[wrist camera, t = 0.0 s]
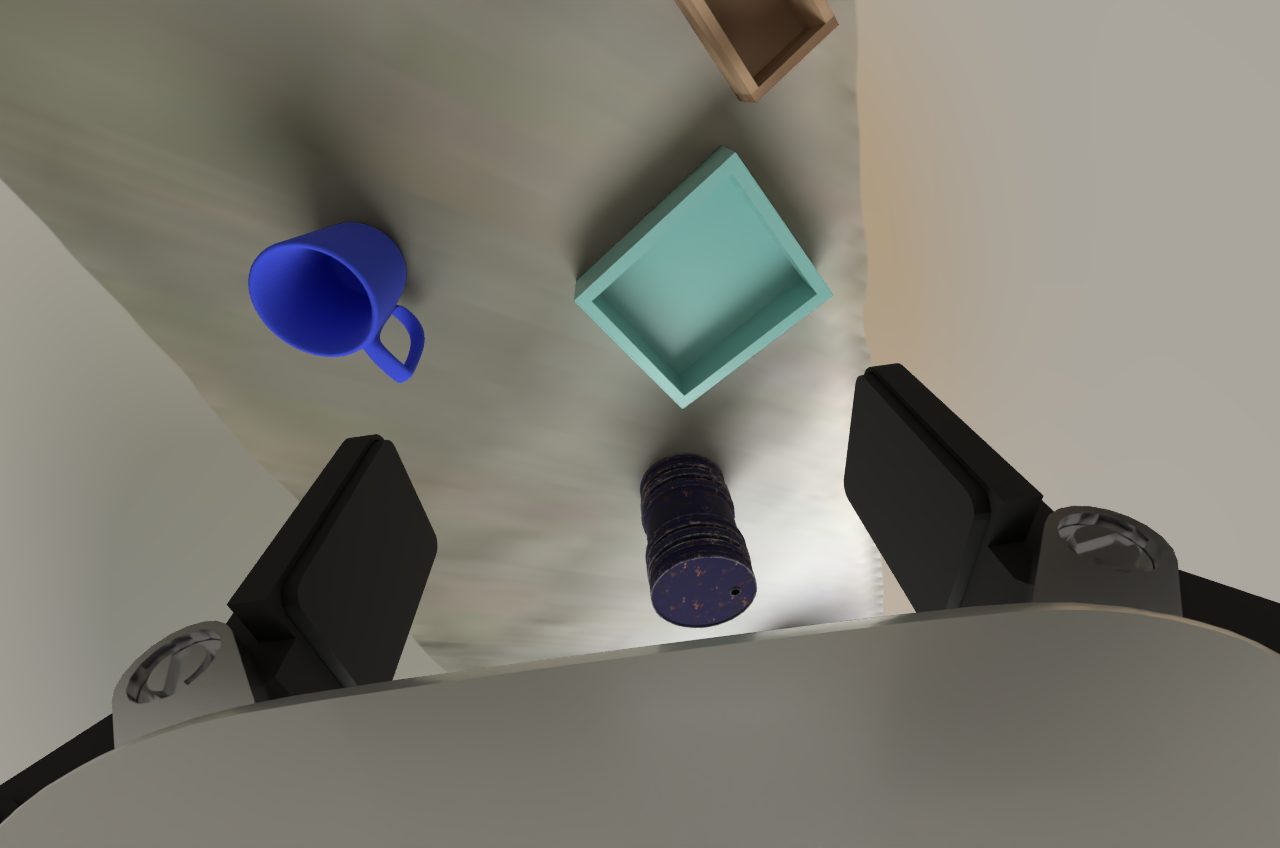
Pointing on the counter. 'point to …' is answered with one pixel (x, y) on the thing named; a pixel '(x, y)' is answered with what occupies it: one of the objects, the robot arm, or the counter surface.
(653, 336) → the teal crate
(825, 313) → the counter surface
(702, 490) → the storage jar
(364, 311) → the mug
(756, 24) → the walnut crate
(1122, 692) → the robot arm
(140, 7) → the counter surface
